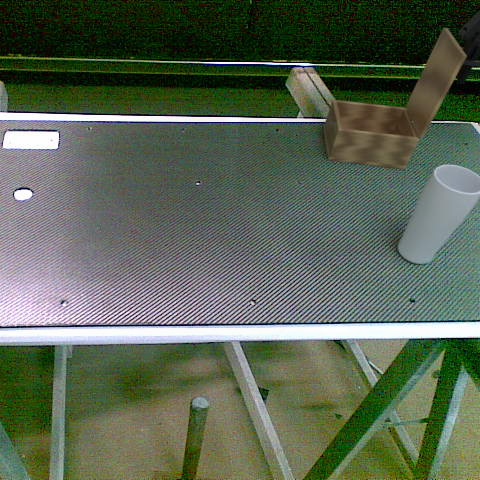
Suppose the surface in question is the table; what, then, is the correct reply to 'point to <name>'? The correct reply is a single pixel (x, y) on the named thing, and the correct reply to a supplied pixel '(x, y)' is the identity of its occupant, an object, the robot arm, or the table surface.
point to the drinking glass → (439, 212)
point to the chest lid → (436, 80)
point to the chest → (369, 134)
